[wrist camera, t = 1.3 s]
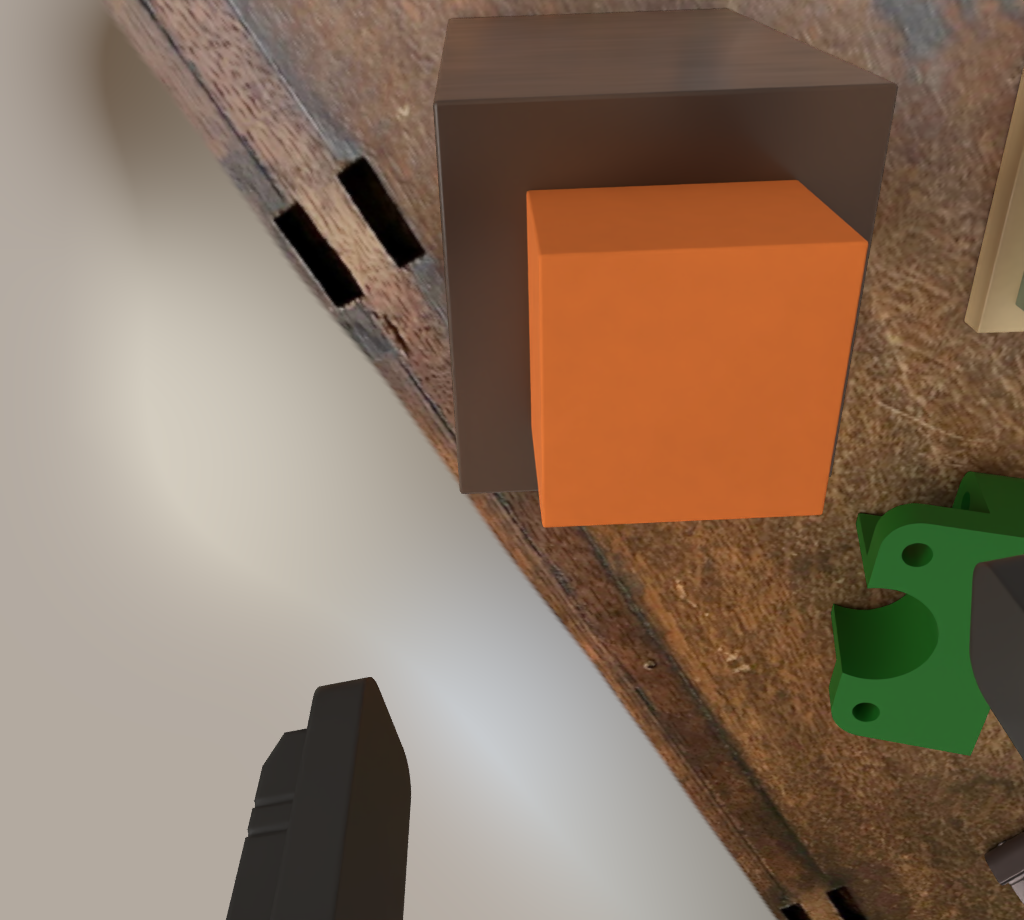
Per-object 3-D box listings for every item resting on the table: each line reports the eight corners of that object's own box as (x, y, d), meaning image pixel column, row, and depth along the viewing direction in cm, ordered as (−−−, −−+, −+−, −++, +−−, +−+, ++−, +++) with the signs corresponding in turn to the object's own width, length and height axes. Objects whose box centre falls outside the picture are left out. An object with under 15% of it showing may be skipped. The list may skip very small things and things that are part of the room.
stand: (463, 287, 35) (459, 495, 23) (447, 18, 30) (432, 101, 18) (707, 277, 35) (832, 479, 23) (729, 7, 30) (900, 83, 18)
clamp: (853, 446, 44) (896, 471, 35) (988, 465, 43) (1069, 495, 34) (810, 691, 46) (842, 774, 37) (940, 713, 45) (1005, 805, 36)
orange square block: (531, 428, 22) (542, 528, 18) (525, 189, 19) (538, 255, 15) (768, 418, 22) (823, 515, 18) (797, 179, 19) (870, 241, 16)
